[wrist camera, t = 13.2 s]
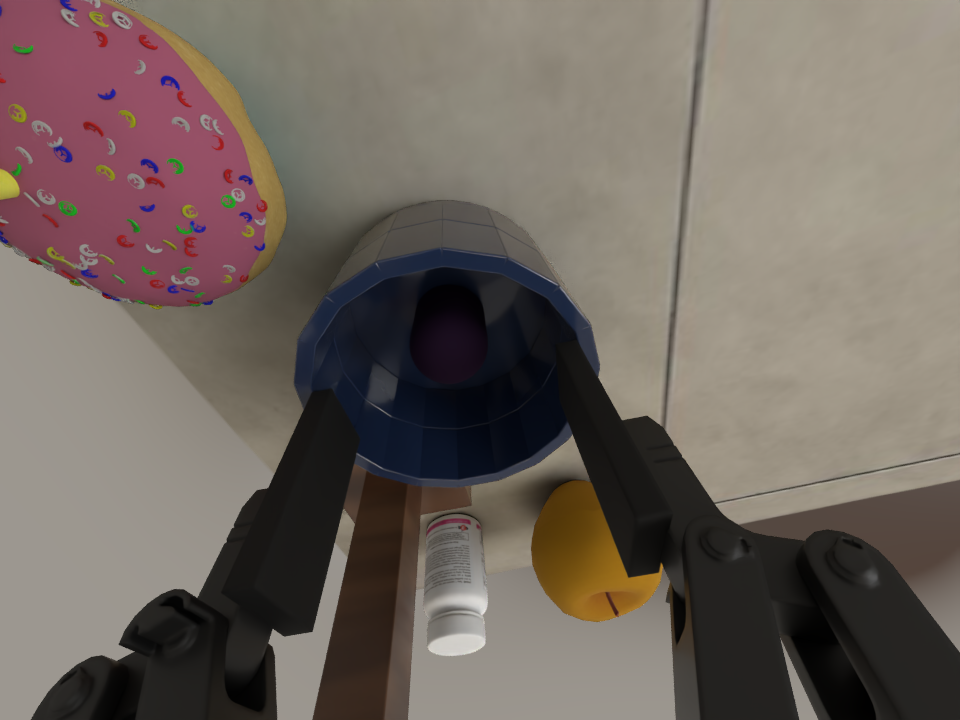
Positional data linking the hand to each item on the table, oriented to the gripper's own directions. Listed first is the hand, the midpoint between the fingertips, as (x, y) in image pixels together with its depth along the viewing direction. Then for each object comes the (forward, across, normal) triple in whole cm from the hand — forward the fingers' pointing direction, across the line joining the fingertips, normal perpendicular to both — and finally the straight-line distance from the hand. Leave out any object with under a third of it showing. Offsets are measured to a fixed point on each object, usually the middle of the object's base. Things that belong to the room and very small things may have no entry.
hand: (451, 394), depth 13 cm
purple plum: (+7, 0, 0) cm, 7 cm away
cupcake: (+7, -8, +9) cm, 14 cm away
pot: (+7, 0, 0) cm, 7 cm away
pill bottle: (+7, -4, -21) cm, 22 cm away
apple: (+7, +6, -19) cm, 21 cm away
